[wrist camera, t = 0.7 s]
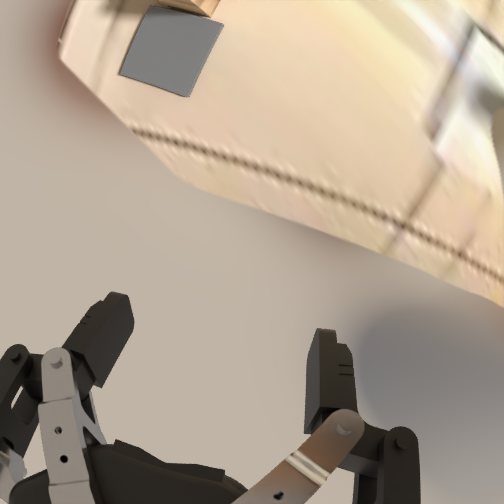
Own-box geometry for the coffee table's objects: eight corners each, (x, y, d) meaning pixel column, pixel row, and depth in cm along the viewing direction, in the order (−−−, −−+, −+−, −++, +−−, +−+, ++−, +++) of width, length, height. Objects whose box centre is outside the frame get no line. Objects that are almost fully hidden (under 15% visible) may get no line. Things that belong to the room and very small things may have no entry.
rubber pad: (153, 6, 25) (150, 5, 24) (224, 25, 26) (222, 23, 25) (123, 74, 30) (119, 74, 29) (189, 97, 31) (186, 97, 30)
